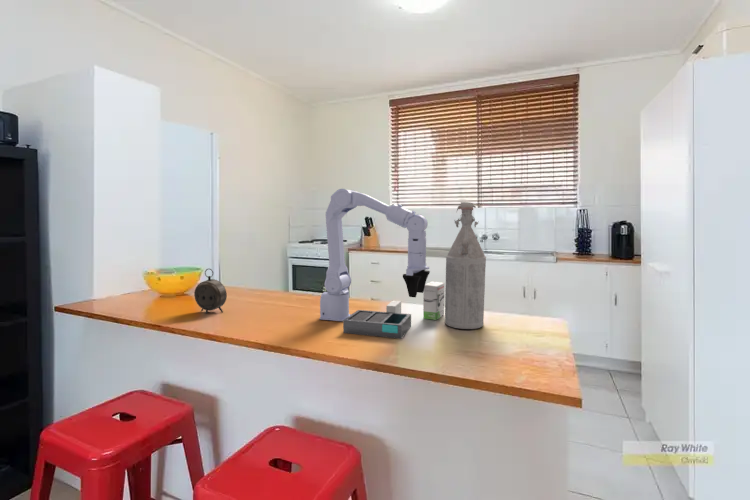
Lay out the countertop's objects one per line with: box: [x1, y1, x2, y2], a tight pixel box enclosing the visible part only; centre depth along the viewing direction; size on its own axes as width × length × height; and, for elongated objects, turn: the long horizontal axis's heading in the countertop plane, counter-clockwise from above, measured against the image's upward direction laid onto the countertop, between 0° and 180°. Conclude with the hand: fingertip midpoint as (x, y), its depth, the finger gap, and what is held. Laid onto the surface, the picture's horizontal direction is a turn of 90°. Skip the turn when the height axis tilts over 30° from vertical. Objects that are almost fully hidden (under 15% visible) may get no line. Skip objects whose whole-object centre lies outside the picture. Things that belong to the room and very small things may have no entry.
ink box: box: [422, 280, 446, 321], centre depth 136 cm, size 9×5×12 cm, turn 151°
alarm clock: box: [193, 268, 227, 314], centre depth 142 cm, size 11×5×16 cm, turn 76°
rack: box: [342, 309, 412, 340], centre depth 121 cm, size 18×13×4 cm
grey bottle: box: [444, 201, 487, 330], centre depth 126 cm, size 13×17×40 cm
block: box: [385, 300, 402, 313], centre depth 132 cm, size 3×8×6 cm, turn 162°
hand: (416, 294), depth 126 cm, fingers open, 7 cm apart
